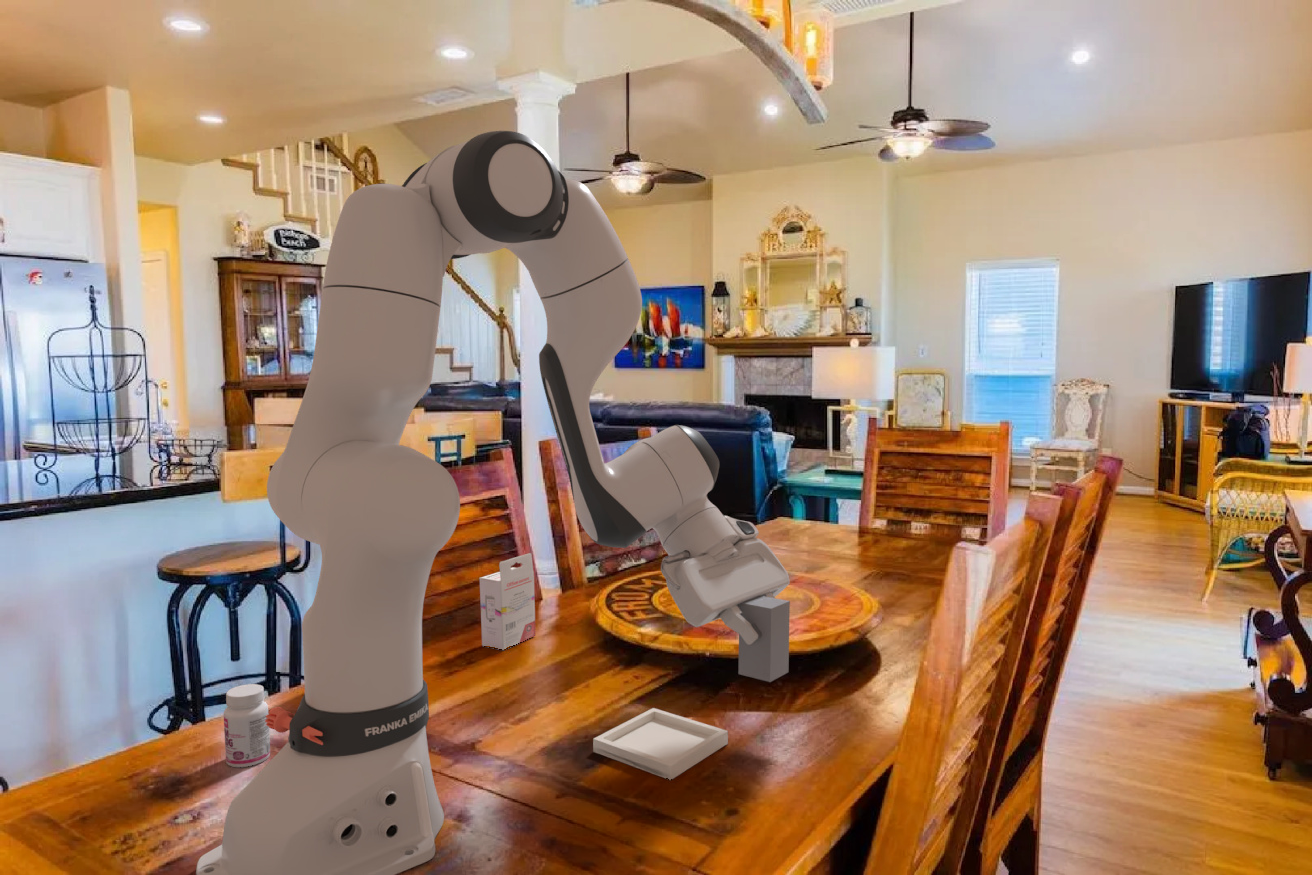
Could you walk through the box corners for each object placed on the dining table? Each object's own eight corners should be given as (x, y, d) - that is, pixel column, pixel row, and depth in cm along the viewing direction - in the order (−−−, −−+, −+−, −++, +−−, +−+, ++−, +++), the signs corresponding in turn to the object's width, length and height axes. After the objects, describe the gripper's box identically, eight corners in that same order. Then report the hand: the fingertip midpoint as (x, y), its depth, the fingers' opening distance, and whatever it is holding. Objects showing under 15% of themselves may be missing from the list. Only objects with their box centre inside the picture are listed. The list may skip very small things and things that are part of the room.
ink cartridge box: (514, 632, 148) (512, 549, 146) (536, 637, 145) (534, 552, 144) (480, 646, 140) (477, 559, 139) (502, 651, 138) (500, 562, 136)
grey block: (770, 682, 102) (771, 608, 101) (738, 673, 105) (739, 602, 104) (788, 672, 105) (789, 601, 105) (757, 664, 108) (758, 595, 108)
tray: (670, 780, 94) (670, 766, 94) (593, 751, 101) (593, 738, 101) (727, 743, 103) (727, 730, 103) (653, 719, 110) (653, 707, 110)
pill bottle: (216, 764, 99) (212, 693, 98) (250, 747, 103) (247, 680, 103) (245, 771, 97) (242, 700, 96) (279, 754, 101) (276, 685, 101)
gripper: (669, 543, 100) (738, 640, 95) (759, 521, 116) (823, 603, 111) (640, 575, 103) (705, 671, 98) (731, 549, 119) (792, 630, 114)
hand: (768, 634), depth 104 cm, fingers closed on grey block, 4 cm apart
